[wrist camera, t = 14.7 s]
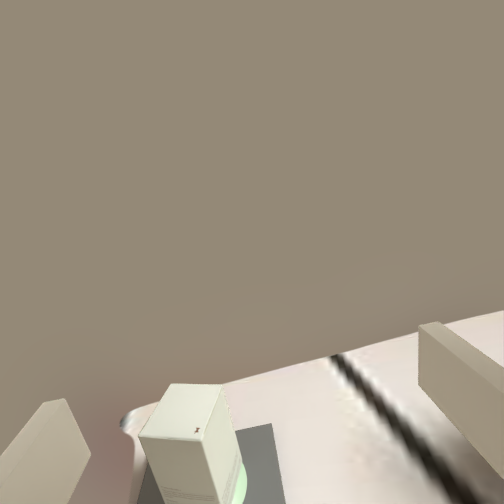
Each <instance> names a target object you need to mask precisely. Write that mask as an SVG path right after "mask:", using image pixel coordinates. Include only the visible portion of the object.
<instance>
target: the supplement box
mask: <svg viewBox="0 0 504 504" xmlns="http://www.w3.org/2000/svg"><path fill="white" fill-rule="evenodd" d="M138 438H139V440H140V442H141V445H142V447H143V450H144V452H145V455H146V457H147V460H148V462H149V465H150V467H151V470H152V472H153V475H154V477H155V480H156V483H157V485H158V487H159V490H160V492H161V495H162V497H163V500H164V503H165V504H232V502H233V499H234V494H235V490H236V486H237V482H238V478H239V473H240V469H241V464H242V456H241V453H240V449H239V445H238V441H237V438H236V434H235V430H234V426H233V422H232V419H231V415H230V411H229V407H228V404H227V400H226V396H225V392H224V388H223V385H209V384H208V385H207V384H205V385H204V384H170V386H169V388H168V389H167V391H166V392H165V394H164V396H163V397H162V399H161V400H160V402H159V403H158V405H157V407H156V408H155V410H154V411H153V413H152V415H151V416H150V418H149V419H148V421H147V422H146V424H145V425H144V427H143V428H142V430H141V431H140V433H139V434H138Z"/></svg>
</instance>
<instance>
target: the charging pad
mask: <svg viewBox="0 0 504 504" xmlns="http://www.w3.org/2000/svg"><path fill="white" fill-rule="evenodd" d="M235 434H236V438H237V441H238V445H239V449H240V453H241V456H242V464H241V469H240V473H239V478H238V482H237V486H236V490H235V494H234V499H233V502H232V504H286V503H285V497H284V491H283V486H282V480H281V474H280V469H279V463H278V457H277V452H276V446H275V440H274V434H273V429H272V424H271V423H270V424H266V425H261V426H256V427H252V428H247V429H242V430H238V431H235ZM137 504H165V503H164V500H163V497H162V495H161V492H160V490H159V487H158V485H157V483H156V480H155V477H154V475H153V472H152V470H151V467H150V465H149V462H148V465H147V469H146V472H145V476H144V480H143V483H142V487H141V491H140V494H139V498H138V502H137Z"/></svg>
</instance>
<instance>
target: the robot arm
mask: <svg viewBox="0 0 504 504" xmlns="http://www.w3.org/2000/svg"><path fill="white" fill-rule="evenodd" d="M418 385H419V386H420V387H421V388H422V390H423V391H424V392H425V393H426V394H427V395H428V396H429V397H430V398H431V400H432V401H433V402H434V403H435V404H436V405H437V406H438V407H439V409H440V410H441V411H442V412H443V413H444V414H445V415H446V416H447V417H448V419H449V420H450V421H451V422H452V423H453V424H454V425H455V426H456V427H457V429H458V430H459V431H460V432H461V433H462V434H463V435H464V436H465V438H466V439H467V440H468V441H469V442H470V443H471V444H472V445H473V446H474V448H475V449H476V450H477V451H478V452H479V453H480V454H481V455H482V457H483V458H484V459H485V460H486V461H487V462H488V463H489V464H490V465H491V467H492V468H493V469H494V470H495V471H496V472H497V473H498V474H499V476H500V477H501V478H502V479H503V480H504V368H503V367H502V366H500V365H499V364H498V363H496V362H495V361H493V360H492V359H491V358H489V357H488V356H486V355H485V354H483V353H482V352H481V351H479V350H478V349H476V348H475V347H474V346H472V345H471V344H469V343H468V342H467V341H465V340H464V339H462V338H461V337H460V336H458V335H457V334H455V333H454V332H452V331H451V330H450V329H448V328H447V327H445V326H444V325H443V324H441V323H440V322H433V323H428V324H423V325H419V348H418ZM90 456H91V453H90V451H89V448H88V446H87V444H86V442H85V440H84V438H83V436H82V434H81V431H80V429H79V427H78V425H77V423H76V421H75V419H74V417H73V414H72V412H71V410H70V408H69V406H68V404H67V401H66V399H65V398H63V399H58V400H53V401H49V402H44V403H43V404H42V405H41V406H40V407H39V409H38V410H37V411H36V412H35V414H34V415H33V416H32V418H31V419H30V420H29V421H28V422H27V424H26V425H25V426H24V427H23V429H22V430H21V431H20V433H19V434H18V435H17V436H16V438H15V439H14V440H13V441H12V442H11V444H10V445H9V446H8V448H7V449H6V450H5V451H4V453H3V454H2V455H1V456H0V504H68V502H69V499H70V497H71V495H72V493H73V491H74V489H75V487H76V485H77V483H78V481H79V479H80V477H81V475H82V472H83V470H84V468H85V466H86V464H87V462H88V460H89V458H90Z"/></svg>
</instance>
